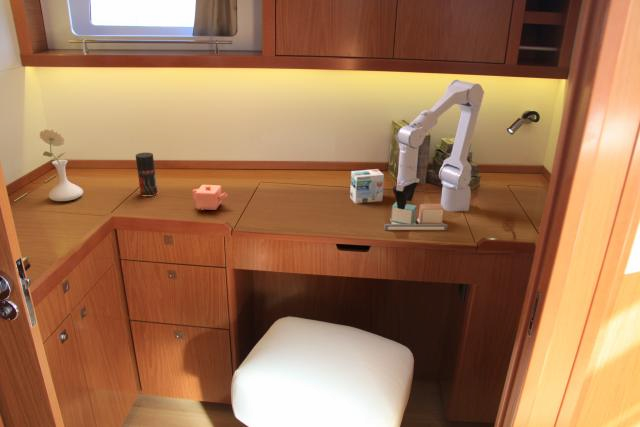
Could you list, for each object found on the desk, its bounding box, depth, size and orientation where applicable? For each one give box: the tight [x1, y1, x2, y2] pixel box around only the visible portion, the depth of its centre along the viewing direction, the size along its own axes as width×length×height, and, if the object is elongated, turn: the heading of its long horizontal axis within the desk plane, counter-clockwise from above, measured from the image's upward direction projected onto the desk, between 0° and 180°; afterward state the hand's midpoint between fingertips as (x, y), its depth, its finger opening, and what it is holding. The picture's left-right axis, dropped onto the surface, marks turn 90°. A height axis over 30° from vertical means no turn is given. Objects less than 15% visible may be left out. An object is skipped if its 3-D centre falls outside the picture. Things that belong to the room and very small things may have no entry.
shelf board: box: [383, 218, 449, 231], centre depth 172 cm, size 20×17×2 cm
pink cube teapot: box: [191, 184, 228, 211], centre depth 179 cm, size 8×12×8 cm, turn 85°
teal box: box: [390, 201, 417, 224], centre depth 169 cm, size 7×4×6 cm, turn 64°
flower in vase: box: [39, 129, 84, 202], centre depth 182 cm, size 13×11×25 cm
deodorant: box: [135, 152, 158, 196], centre depth 188 cm, size 6×6×15 cm
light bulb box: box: [349, 168, 385, 205], centre depth 186 cm, size 11×7×11 cm, turn 105°
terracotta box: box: [417, 203, 445, 224], centre depth 169 cm, size 7×4×6 cm, turn 92°
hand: (404, 204), depth 168 cm, fingers open, 7 cm apart
